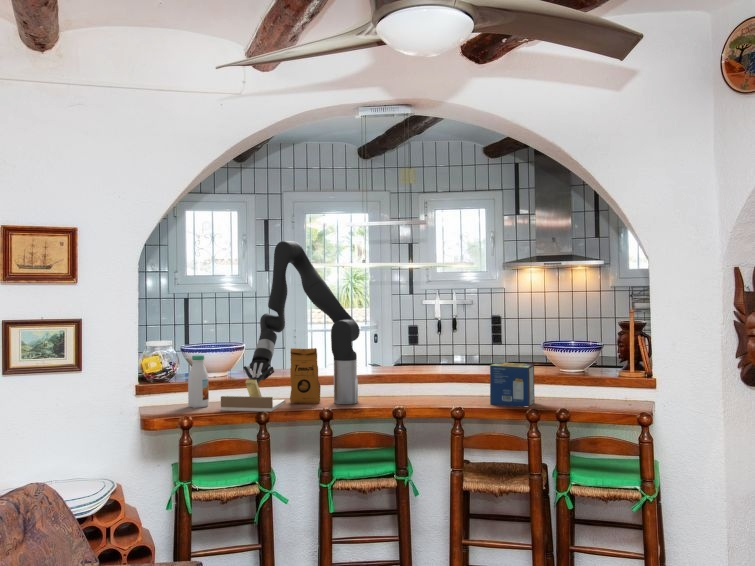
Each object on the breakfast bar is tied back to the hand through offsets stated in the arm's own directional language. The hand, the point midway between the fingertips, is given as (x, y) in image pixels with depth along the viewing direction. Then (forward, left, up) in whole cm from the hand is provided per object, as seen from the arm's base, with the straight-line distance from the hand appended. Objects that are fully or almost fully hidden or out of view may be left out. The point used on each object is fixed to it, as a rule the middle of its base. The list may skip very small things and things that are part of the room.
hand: (253, 387), depth 256 cm
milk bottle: (+22, +2, -8) cm, 23 cm away
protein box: (-100, -17, -8) cm, 102 cm away
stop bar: (0, -3, -5) cm, 6 cm away
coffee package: (-18, -10, -8) cm, 22 cm away
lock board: (0, 0, -7) cm, 7 cm away
